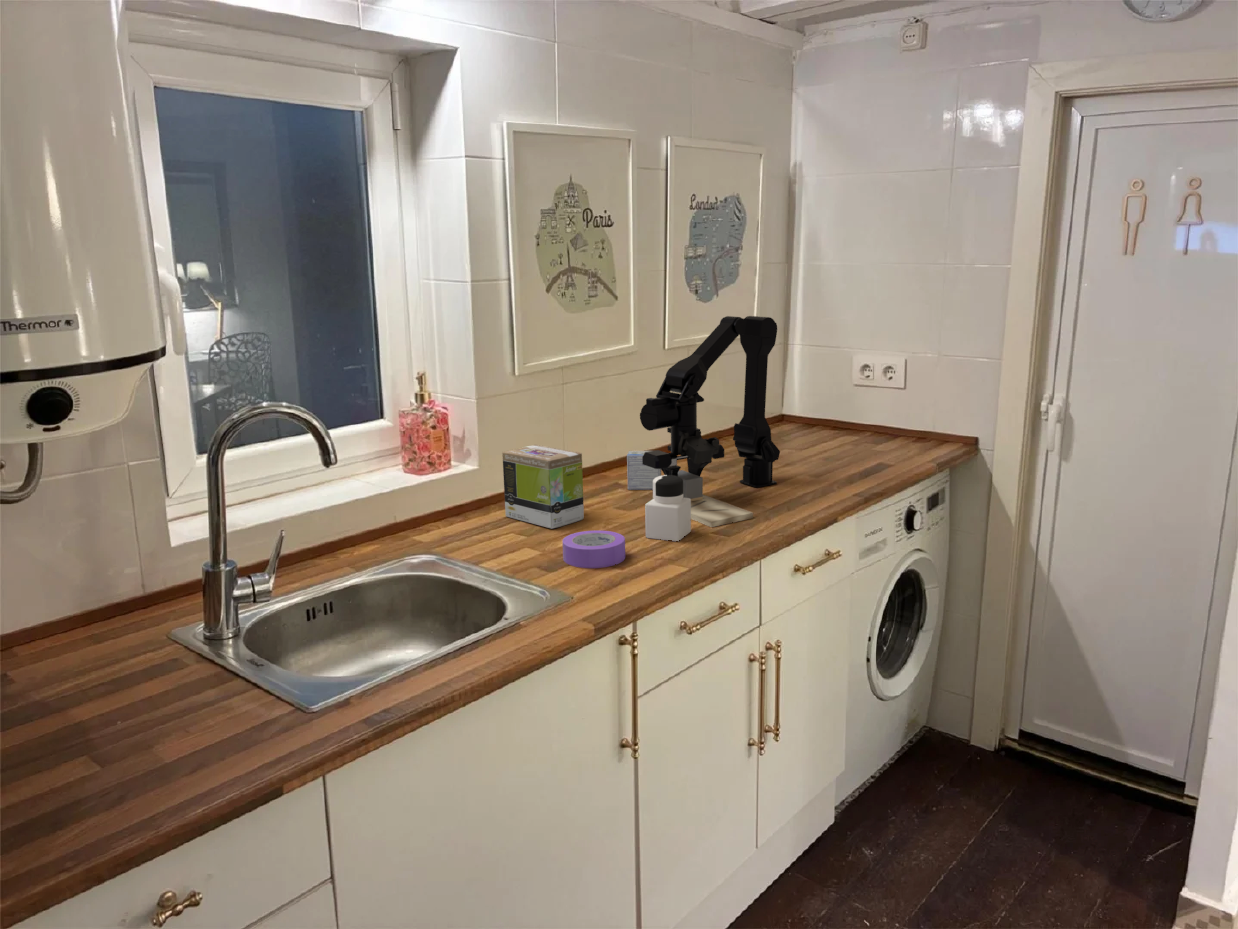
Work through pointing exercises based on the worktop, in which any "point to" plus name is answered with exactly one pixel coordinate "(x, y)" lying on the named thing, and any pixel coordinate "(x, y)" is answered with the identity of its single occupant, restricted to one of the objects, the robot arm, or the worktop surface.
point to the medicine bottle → (668, 510)
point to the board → (717, 512)
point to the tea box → (543, 485)
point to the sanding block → (691, 485)
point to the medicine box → (640, 472)
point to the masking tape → (594, 549)
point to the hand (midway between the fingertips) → (684, 492)
